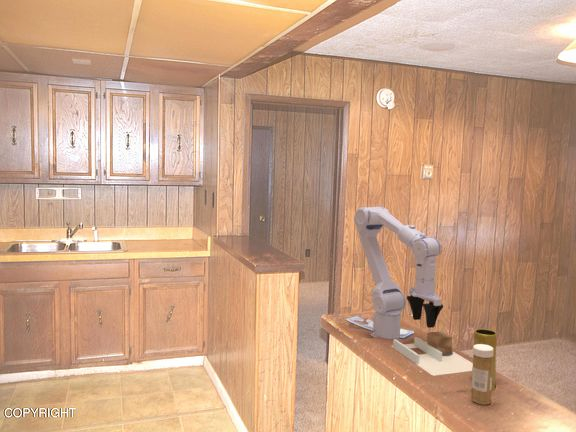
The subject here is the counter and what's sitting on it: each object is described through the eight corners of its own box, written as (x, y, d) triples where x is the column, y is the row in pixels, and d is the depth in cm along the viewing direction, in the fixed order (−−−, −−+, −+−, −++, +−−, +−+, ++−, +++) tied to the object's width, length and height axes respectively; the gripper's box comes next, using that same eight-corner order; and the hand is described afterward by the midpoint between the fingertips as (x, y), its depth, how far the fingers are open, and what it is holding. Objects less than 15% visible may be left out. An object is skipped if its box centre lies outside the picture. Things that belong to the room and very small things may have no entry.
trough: (393, 347, 153) (393, 339, 153) (416, 344, 155) (416, 337, 155) (416, 364, 140) (416, 355, 140) (441, 361, 142) (442, 352, 142)
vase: (465, 382, 132) (467, 329, 130) (484, 379, 134) (486, 327, 133) (482, 392, 126) (484, 337, 125) (501, 389, 128) (504, 334, 127)
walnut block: (441, 347, 152) (442, 331, 151) (451, 353, 147) (452, 336, 147) (427, 348, 151) (427, 332, 150) (436, 354, 146) (436, 338, 145)
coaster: (427, 349, 151) (427, 348, 151) (445, 347, 153) (445, 346, 153) (438, 357, 146) (439, 355, 145) (457, 354, 147) (457, 353, 147)
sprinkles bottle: (495, 402, 121) (497, 347, 120) (483, 407, 118) (485, 351, 117) (478, 395, 125) (481, 342, 123) (466, 399, 122) (469, 345, 121)
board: (390, 350, 155) (390, 345, 154) (435, 345, 159) (435, 341, 159) (432, 381, 133) (432, 375, 132) (482, 374, 137) (483, 369, 137)
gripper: (400, 274, 156) (399, 317, 157) (426, 284, 142) (424, 332, 143) (421, 272, 158) (419, 315, 159) (448, 283, 144) (446, 329, 145)
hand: (423, 323), depth 151 cm, fingers open, 7 cm apart
